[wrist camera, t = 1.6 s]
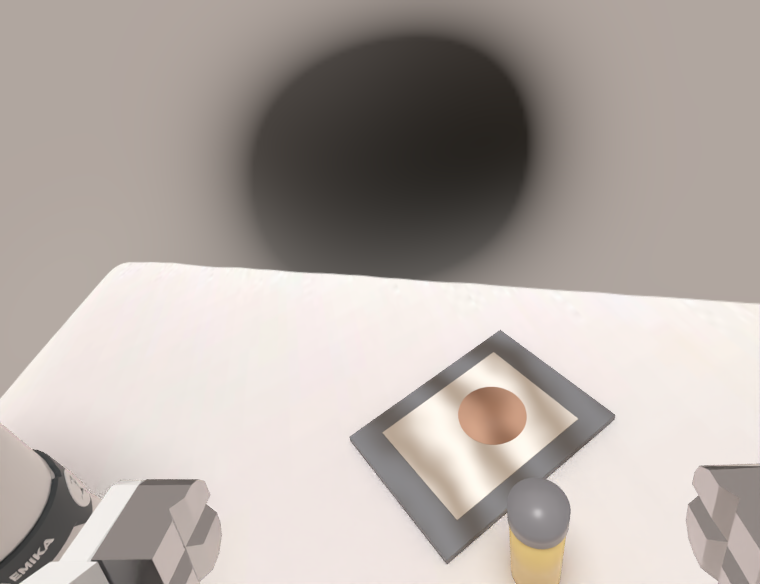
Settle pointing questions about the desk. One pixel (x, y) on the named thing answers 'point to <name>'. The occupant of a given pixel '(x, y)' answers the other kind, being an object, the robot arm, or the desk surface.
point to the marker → (537, 530)
